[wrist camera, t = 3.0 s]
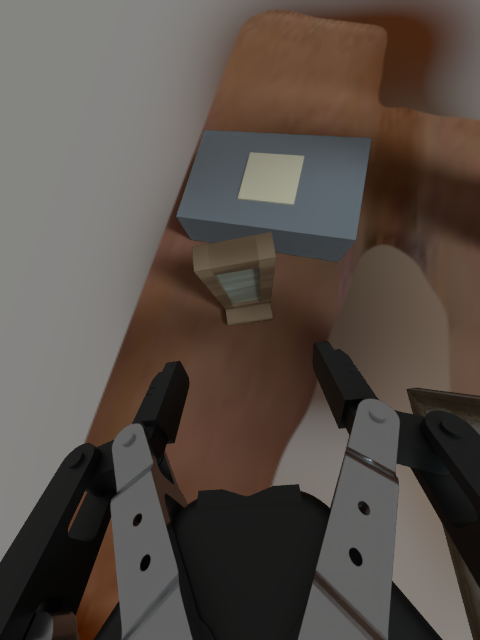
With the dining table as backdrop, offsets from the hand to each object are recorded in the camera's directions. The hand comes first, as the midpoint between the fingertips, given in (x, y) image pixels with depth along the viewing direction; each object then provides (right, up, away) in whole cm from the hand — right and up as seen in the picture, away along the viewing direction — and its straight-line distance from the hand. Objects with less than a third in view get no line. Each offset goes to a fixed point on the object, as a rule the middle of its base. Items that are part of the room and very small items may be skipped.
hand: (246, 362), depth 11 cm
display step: (+4, +20, +17) cm, 26 cm away
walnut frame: (+1, +5, +15) cm, 16 cm away
